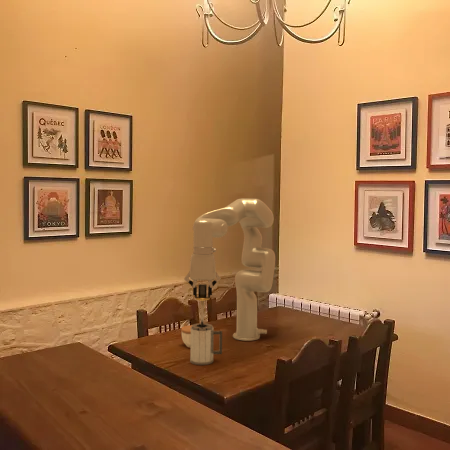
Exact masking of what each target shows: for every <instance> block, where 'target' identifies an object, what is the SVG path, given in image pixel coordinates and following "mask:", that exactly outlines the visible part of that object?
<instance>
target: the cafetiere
mask: <svg viewBox="0 0 450 450" xmlns="http://www.w3.org/2000/svg"><path fill="white" fill-rule="evenodd" d="M191 325H192V327H191V348H190V352H189V354H190V358H189V362H190V363H191V364H192V365H196V366H208V365H211V364H213V363H214V355H222V354H223V330H214V326H213V324H210V323H207V322H206V323H205V322H203V327H201V322H199V323H194V324H193V323H192V324H191ZM215 335H219V338H218V339H219V344H218V345H219V346H218V347H219V349H218V350H214V337H215Z"/></svg>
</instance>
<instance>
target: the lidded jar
mask: <svg viewBox="0 0 450 450" xmlns="http://www.w3.org/2000/svg"><path fill="white" fill-rule="evenodd" d="M192 325H193V324H191V325H185V326H182V327H181V329H180V331H181V340H182V342H183V343H184V345H185V346H186V347H187V348H190V349H191V327H192Z"/></svg>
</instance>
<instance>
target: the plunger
mask: <svg viewBox="0 0 450 450" xmlns="http://www.w3.org/2000/svg"><path fill="white" fill-rule="evenodd" d="M194 298H195V297H194ZM210 298H211V297H210ZM210 298H208V286H207V284H205V283H199V284H198V287H197V298H195V301H198V302H199V301H200V323H201V327H203V323H204V305H205V304H204V302H206V301H210Z"/></svg>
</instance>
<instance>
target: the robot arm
mask: <svg viewBox="0 0 450 450" xmlns="http://www.w3.org/2000/svg"><path fill="white" fill-rule="evenodd" d="M274 216H275V215H274V214H273V211H272V210H271V209H270V208H269V206H268V205H267V204H266V203H265V202H264V201H262V200H261V199H259V198H247V197H246V198H237V199H236V200H234V201H232V202H231V203H229V204H228V205H226V206H225V207H222V208H219V209H218V208H217V209H215V210H212V211H208V212H206V213H203V214H201V215H199V216H198V217H197V218H196V219H195V221H194V222H193V225H192V230H193V243H192V244H193V249H192V250H193V253H191V256H190V259H189V260H190V261H189V271H188V273H187V274H186V275H185V277H184V278H183V279H184V281H185V282H186V283H189V285H190V286H191V287H192V296H194V298H197V296H198V287H197V282H198V281H208V286H207V296H208V298H211V296H213V288H214V286H215V285H216V284H217V283H218V282H220V281H221V279H222V278H221V277H220V275H219V274H218V273H217V271H216V259H215V254H213V253H216V252H217V248H215V247H213V240H214V239H213V238H223V237H224V236H226V235H227V234H228V231H229V227H232V226H235V225H236V224H238V223H239V224H240V225H239V226H240V227H241V230H242V232H243V238H244V239H243V245H242V253H241V265H243V266H244V267H247V268H254V269H261V270H251V269H241V270H239V271H237V272H236V274H235V276H234V284H235V288H236V290H235V291H236V331H235V332H234V333H233V334H232V338H233V339H235V340H237V341H244V342H245V341H246V342H249V341H257V340H259V339H261V335H262V334H263V335H267V334H268V329H263V328H258V297H257V295H256V294H255V293H256V292H257V293H268V292H270V291H271V289H272V288H273V287H272V286H273V282H274V276H275V275H274V274H275V267H276V254H275V251H274V250H273V249H271V248H269V247H262V245H263V244H262V243H263V236H262V233H261V232H260V229H258V228H263V229H266V228H270V227H272V225H273V224H274V221H275V218H274Z"/></svg>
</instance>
